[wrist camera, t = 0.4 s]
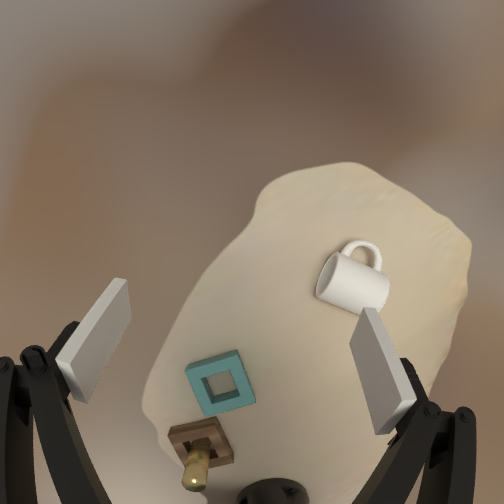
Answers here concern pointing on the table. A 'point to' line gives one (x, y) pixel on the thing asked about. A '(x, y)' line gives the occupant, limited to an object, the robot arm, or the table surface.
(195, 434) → the mount block
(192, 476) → the pin
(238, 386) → the socket block
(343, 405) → the table surface
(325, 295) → the mug
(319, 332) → the table surface
